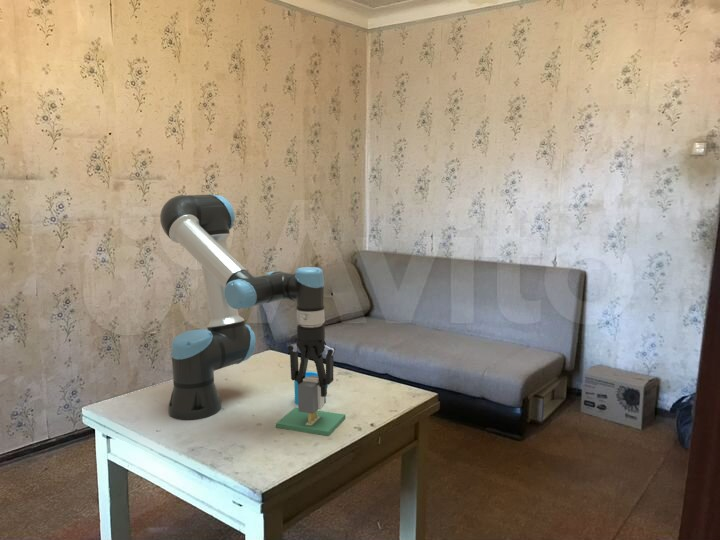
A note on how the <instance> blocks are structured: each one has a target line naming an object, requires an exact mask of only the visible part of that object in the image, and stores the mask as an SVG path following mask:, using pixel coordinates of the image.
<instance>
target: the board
mask: <svg viewBox="0 0 720 540" xmlns="http://www.w3.org/2000/svg"><path fill="white" fill-rule="evenodd" d="M344 420H346V414H344V413H337V412H330V411H326V410H325V411H324V410H319V409H318V410H317V411H316V412H315V413H313V414H311V413H305V412H299V410H298V407H297V406H296V407H294V408H292V410H290V411H289V412H287V414H286V415H284V416H283V417H282V418H280V419H279V420H278V421H277V422H276V423H275V428H278V429H284V430H289V431H295V432H302V433H308V434H315V435H321V436H326V437H330V435H331V434H332V433H334V431H335V430H336V429H337V428H338V427H339V426H340V425H341V424H342V423H343V422H344Z"/></svg>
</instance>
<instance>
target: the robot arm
mask: <svg viewBox="0 0 720 540" xmlns="http://www.w3.org/2000/svg"><path fill="white" fill-rule="evenodd" d="M235 218H236V216H235V211H234V208H233V205H232V203H230V201H229V200H228V199H226V198H225V197H224V196H222V195H220V194H219V195H217V194H215V195H214V194H191V195H190V194H189V195H188V194H184V195H183V194H182V195H181V194H180V195H176V196H174V197H173V196H172V197H171V198H169V199H168V200H167V201H166V202H165V203H164V204H163V206H162V208H161V211H160V216H159V219H160V221H159V222H160V225H161V228H162V230H163V233H164V234H165V235H166V236H167V237H168V238H169V239H170V240H171V241H172V242H174V243H176V244H180V245H181V246H182V247H183V248H184V250H186V251H187V252H188V254H190V255H191V256H192V258H194V259H195V260H196V261H197V262H198V263H199V264H200V266H201V270H202V274H203V275H202V276H203V279H204V280H203V282H204V286H205V292H206V298H207V304H208V309H209V310H208V311H209V316H210V321H209V323H208V324H207V326H206V329H205V328H204V329H203V328H202V329H201V328H199V329H195V330H192V329H191V330H188V331H187V330H186V331H184V332H181V333H179V334H178V335H176V336H175V337H174V338H173V339H172V341H171V352H170V356H171V362H172V365H171V366H172V379H173V388H172V392H171V396H170V400H169V403H168V415H169V416H170V417H172V418H174V419H178V420H197V419H202V418H203V419H204V418H207V417H210V416H213V415H214V414H216V413H218V412H219V411H220V410H221V409H222V398H221V396H220V395H219V391H218V389H217V386H216V383H215V371H216V370H221V369H224V368H227V367H231V366H233V365H238V364H241V363H243V362H245V361H247V360H249V359H250V358H251V357H252V356H253V354H254V352H255V350H256V344H257V343H256V340H257V339H256V335H255V332H254V330H252V327H251V326H250V325H249V324H246V322H245V319H244V318H243V317H242V316H240V314H239V310H241V309H249V308H252V307H255V306H260V305H264V304H269V303H274V302H278V301H283V300H284V301H285V300H287V301H294V302H295V303H296V323H297V326H296V333H297V335H296V336H297V341H296V343H292V344H290V345H288V346H287V349H288V352H289V357H290V358H289V361H290V363H289V364H290V379H291V381H294V380H295V381H297V382H298V384H300V383H301V382H303V379H304V378H305V375H306V372H307V369H308V363H309V359H313V362H314V365H315V368H316V373H317V374H318V378H319V382H320V384H319V385H318V386H317V389H318V410H322V408H324V407H325V404H324V397H325V396H326V397H327V394H328V388H327V384H328V386H329V385H330V384H331V383H332V382H334V355H335V352H336V348H335V347H330V346H328V345H327V343H326V340H325V339H326V335H325V334H326V331H325V329H326V327H325V325H324V323H326V322H325V321H326V319H325V279H324V272H323V269H322V268H320V267H318V266H317V267H315V266H313V267H311V266H304V267H299V268H297V269H296V270H295V273H293V272H292V273H291V272H284V271H279V270H278V271H269V272H267V273H266V274H265V275H258V276H253V274H252V273H251V272H249V271H248V270H247V269H246V268H245V267H244V266H243V265H242V264H241V263H240V262H239V261H238V260H237V259H235V258H234V257H233V256H232V255H231V254H230V252H229V251H228V245H227V240H228V239H229V237H230V236H231V233H230V230H231V229H232V228H233V227H234V224H235V222H236V221H235V220H236V219H235ZM298 350H299V352H300V353H301V354H300V364H299V352H298ZM324 351H325V352H324ZM323 352H324V353H325V354H324V355H325V356H326V357H325V364H324V357H323ZM324 365H325V366H324Z"/></svg>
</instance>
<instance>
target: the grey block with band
mask: <svg viewBox="0 0 720 540" xmlns="http://www.w3.org/2000/svg"><path fill="white" fill-rule="evenodd" d="M319 384H320V382H319V378H318V376H313V375H311V376H310V377H305V378H304V379H303V382H301V383H300V384H298V405H297V406H298V407H297V408H298V410H299V412H305V413H311V414H313V413H315V412H316V411H317V410H318V411H319V409H318V389H317V386H318V385H319ZM326 397H327V395H326V396H325V397H324V405H325V404H326V401H327V398H326Z"/></svg>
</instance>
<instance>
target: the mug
mask: <svg viewBox="0 0 720 540" xmlns="http://www.w3.org/2000/svg"><path fill="white" fill-rule="evenodd" d="M311 375H313V376H318V374H317V372H313V371H306V375H305V377H310V376H311ZM293 382H294V387H293V388H294V404H296V405H297V406H298V382H297V381H295V380H293ZM328 387H329V385H328V384H327V389H328Z"/></svg>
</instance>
